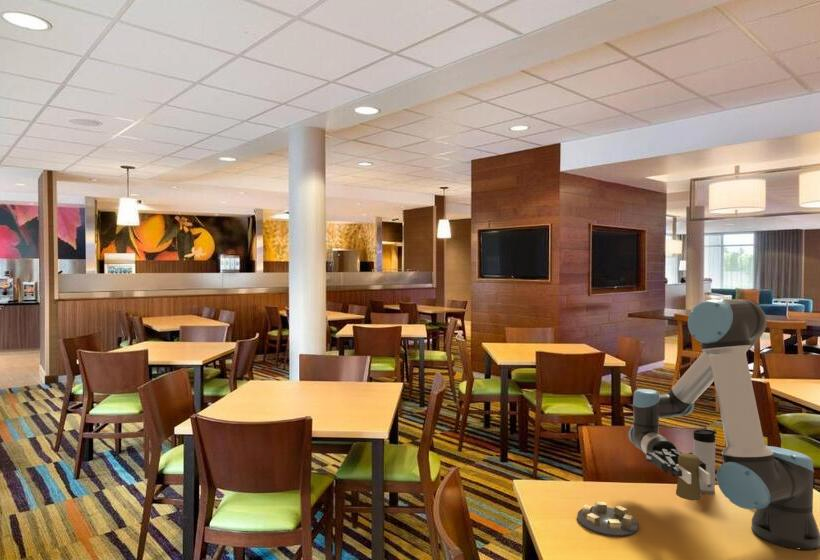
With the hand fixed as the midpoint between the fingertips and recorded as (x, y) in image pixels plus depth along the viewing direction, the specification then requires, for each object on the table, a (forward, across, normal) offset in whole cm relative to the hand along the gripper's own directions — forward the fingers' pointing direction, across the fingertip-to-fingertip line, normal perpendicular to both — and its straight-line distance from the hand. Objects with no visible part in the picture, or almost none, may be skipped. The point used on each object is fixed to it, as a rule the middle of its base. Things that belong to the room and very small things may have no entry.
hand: (699, 478), depth 131 cm
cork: (-5, 0, -7) cm, 9 cm away
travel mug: (-37, -21, -18) cm, 46 cm away
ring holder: (-13, +19, -18) cm, 29 cm away
